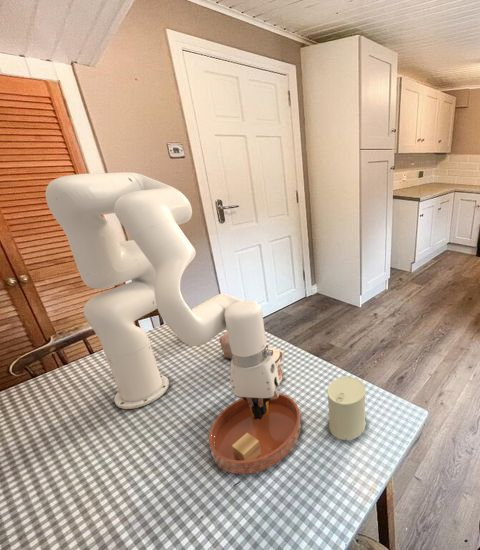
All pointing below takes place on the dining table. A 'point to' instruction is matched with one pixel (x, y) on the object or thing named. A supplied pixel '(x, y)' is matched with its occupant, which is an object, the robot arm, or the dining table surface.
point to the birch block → (246, 448)
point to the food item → (225, 346)
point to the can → (346, 407)
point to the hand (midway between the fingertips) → (260, 414)
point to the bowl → (255, 434)
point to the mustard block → (266, 411)
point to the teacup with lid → (277, 360)
